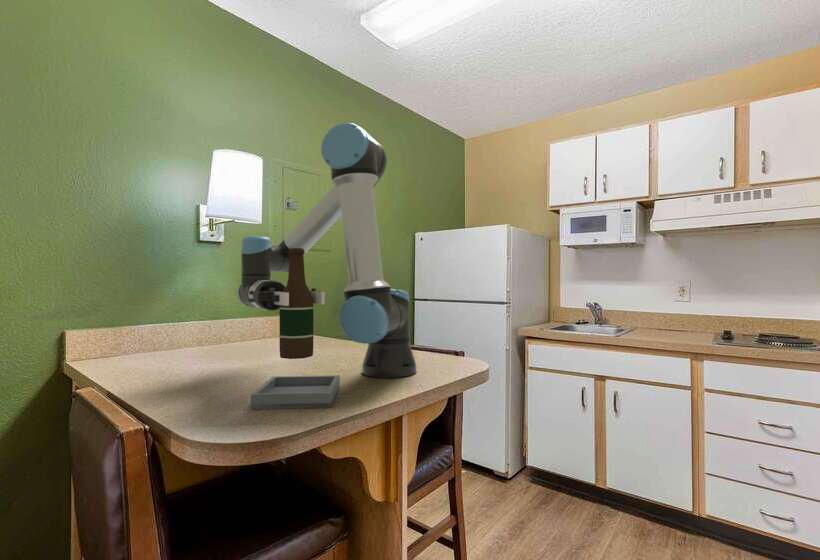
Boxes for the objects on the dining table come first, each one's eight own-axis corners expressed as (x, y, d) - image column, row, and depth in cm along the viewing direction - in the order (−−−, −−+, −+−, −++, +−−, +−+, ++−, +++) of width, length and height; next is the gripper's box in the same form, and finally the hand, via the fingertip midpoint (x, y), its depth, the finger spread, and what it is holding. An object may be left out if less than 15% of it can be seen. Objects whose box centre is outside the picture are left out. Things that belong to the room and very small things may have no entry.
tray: (339, 387, 103) (339, 375, 103) (330, 407, 87) (330, 393, 87) (272, 388, 102) (272, 376, 102) (251, 409, 86) (251, 394, 86)
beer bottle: (318, 353, 98) (319, 249, 98) (307, 359, 90) (307, 246, 90) (286, 352, 99) (286, 249, 99) (272, 358, 91) (272, 247, 91)
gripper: (305, 307, 115) (347, 313, 97) (226, 311, 102) (257, 318, 84) (305, 280, 115) (347, 280, 97) (226, 280, 102) (257, 281, 84)
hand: (305, 298), depth 90 cm, fingers closed on beer bottle, 7 cm apart
